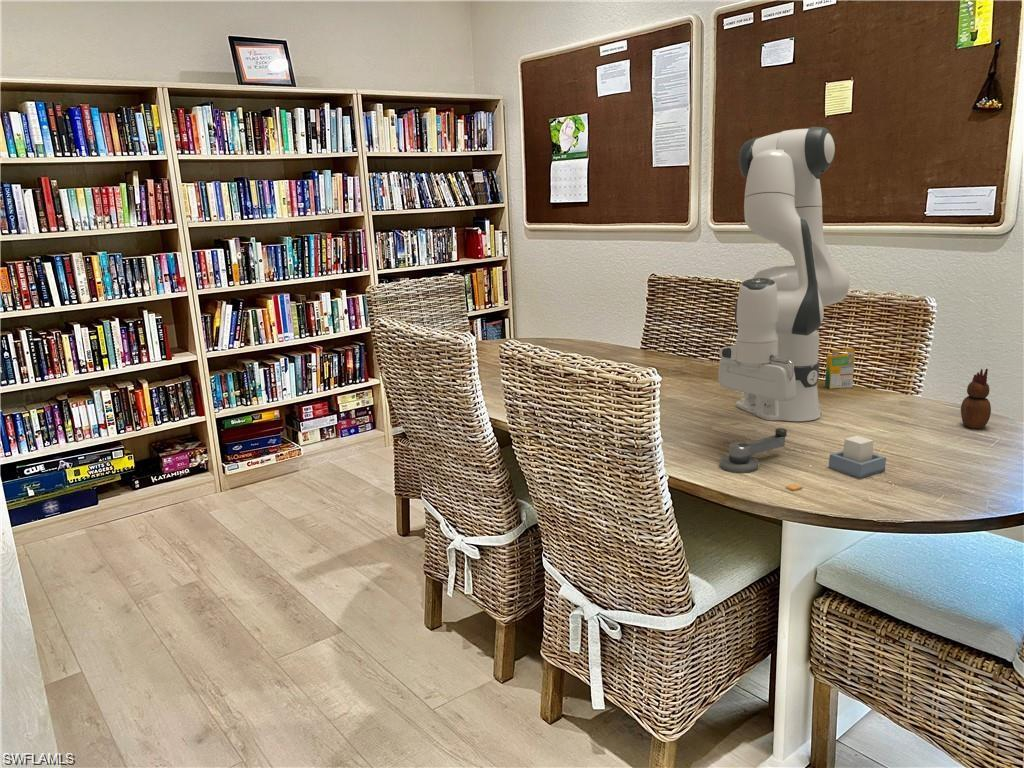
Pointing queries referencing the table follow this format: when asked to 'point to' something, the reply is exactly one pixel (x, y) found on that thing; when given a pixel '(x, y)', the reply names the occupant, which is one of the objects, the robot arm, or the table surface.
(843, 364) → the crayon box
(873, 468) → the tray
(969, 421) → the wooden figurine
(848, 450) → the cream block
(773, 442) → the crank arm
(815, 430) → the table surface
